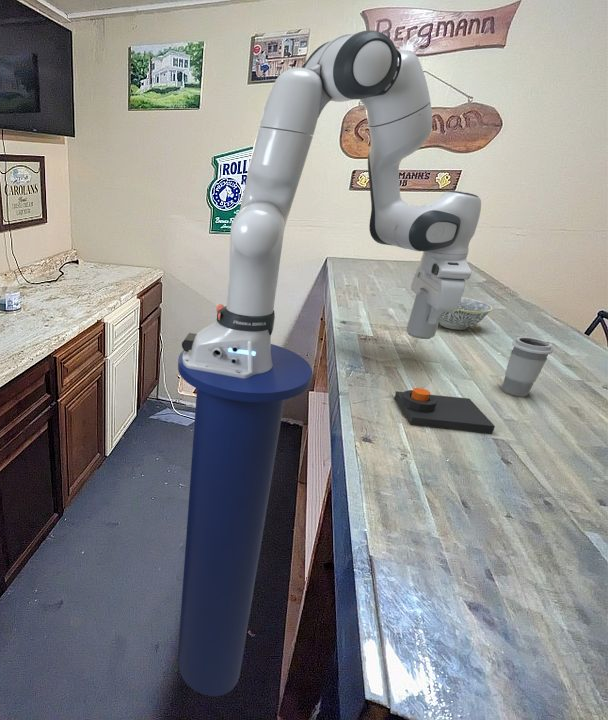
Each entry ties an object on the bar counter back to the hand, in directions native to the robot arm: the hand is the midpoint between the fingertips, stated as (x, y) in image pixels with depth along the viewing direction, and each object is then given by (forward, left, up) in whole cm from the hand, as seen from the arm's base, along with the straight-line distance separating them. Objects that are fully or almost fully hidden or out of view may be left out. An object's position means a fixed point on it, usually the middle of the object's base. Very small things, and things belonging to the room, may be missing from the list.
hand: (425, 318), depth 115 cm
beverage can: (0, 0, -5) cm, 5 cm away
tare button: (-9, -31, -7) cm, 33 cm away
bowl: (+20, +29, -11) cm, 37 cm away
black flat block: (-4, -31, -11) cm, 33 cm away
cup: (+16, -16, -11) cm, 25 cm away
